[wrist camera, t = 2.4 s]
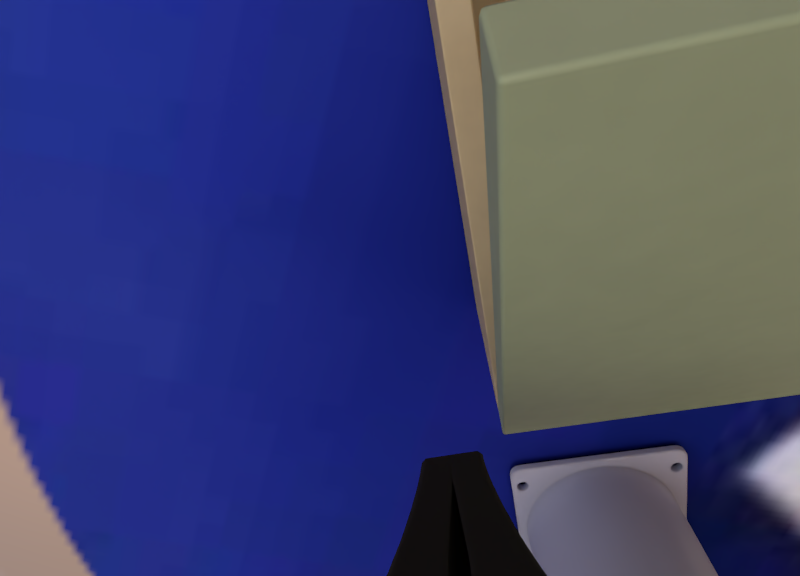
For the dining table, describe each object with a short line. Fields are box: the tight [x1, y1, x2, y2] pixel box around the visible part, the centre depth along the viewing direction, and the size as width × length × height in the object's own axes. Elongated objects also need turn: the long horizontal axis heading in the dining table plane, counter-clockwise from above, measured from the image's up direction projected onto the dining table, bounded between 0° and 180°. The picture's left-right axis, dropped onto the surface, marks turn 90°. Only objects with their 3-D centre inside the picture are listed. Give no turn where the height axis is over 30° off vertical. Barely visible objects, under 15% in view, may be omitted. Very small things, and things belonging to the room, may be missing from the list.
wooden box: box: [427, 0, 510, 406], centre depth 16 cm, size 13×13×7 cm
